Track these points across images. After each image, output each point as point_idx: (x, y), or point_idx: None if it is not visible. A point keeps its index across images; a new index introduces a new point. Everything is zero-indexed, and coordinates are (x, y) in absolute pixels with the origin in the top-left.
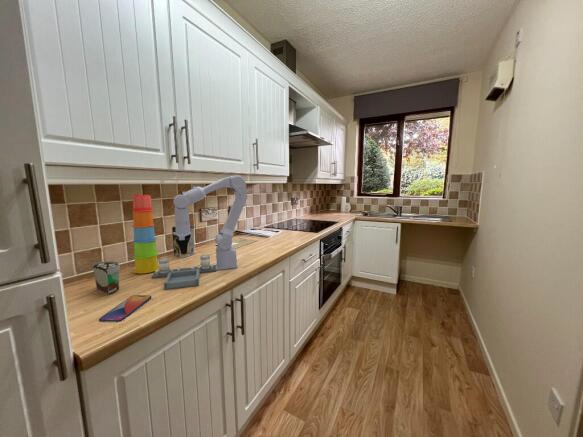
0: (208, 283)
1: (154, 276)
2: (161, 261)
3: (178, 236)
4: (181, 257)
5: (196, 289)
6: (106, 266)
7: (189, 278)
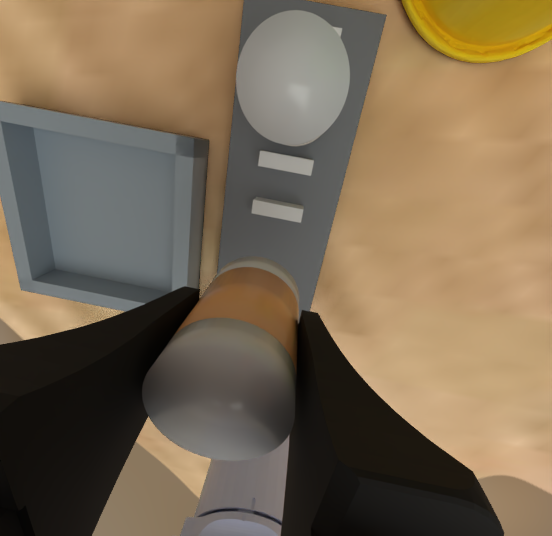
0: (69, 316)
1: (242, 19)
2: (240, 55)
3: (351, 505)
4: (222, 268)
5: (9, 260)
6: None
7: (136, 252)
